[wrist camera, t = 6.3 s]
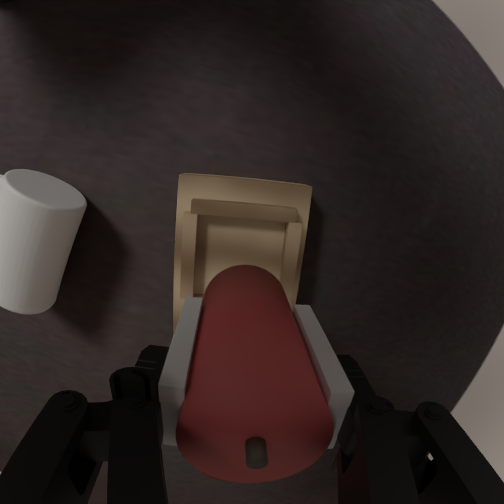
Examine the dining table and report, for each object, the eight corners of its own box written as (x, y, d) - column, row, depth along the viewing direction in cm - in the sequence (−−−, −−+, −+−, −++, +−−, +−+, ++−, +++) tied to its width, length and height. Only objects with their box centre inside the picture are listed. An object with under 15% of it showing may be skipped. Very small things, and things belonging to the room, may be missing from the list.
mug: (101, 201, 26) (58, 217, 18) (69, 291, 28) (29, 329, 20) (12, 151, 24) (-40, 153, 16) (-12, 237, 26) (-59, 258, 18)
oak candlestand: (185, 172, 26) (138, 184, 13) (303, 184, 27) (370, 206, 13) (179, 401, 32) (163, 503, 19) (269, 406, 33) (285, 508, 20)
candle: (205, 261, 17) (166, 398, 7) (291, 267, 17) (361, 403, 7) (201, 336, 18) (177, 496, 8) (280, 341, 18) (319, 497, 8)
